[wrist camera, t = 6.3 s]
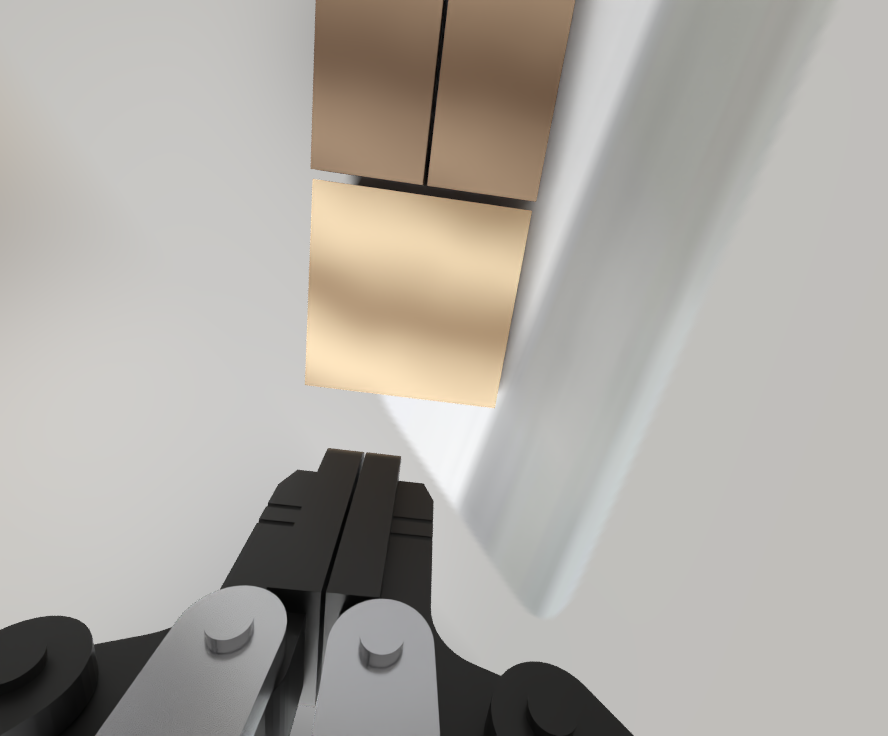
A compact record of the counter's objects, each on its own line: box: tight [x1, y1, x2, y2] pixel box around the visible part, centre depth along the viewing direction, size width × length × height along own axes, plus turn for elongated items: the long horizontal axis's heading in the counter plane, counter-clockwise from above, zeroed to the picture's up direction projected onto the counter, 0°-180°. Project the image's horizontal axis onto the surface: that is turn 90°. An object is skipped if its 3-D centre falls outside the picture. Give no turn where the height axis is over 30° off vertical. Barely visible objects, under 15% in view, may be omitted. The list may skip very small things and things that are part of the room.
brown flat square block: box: [311, 0, 575, 201], centre depth 19 cm, size 10×10×2 cm
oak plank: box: [305, 179, 532, 408], centre depth 22 cm, size 10×10×2 cm
